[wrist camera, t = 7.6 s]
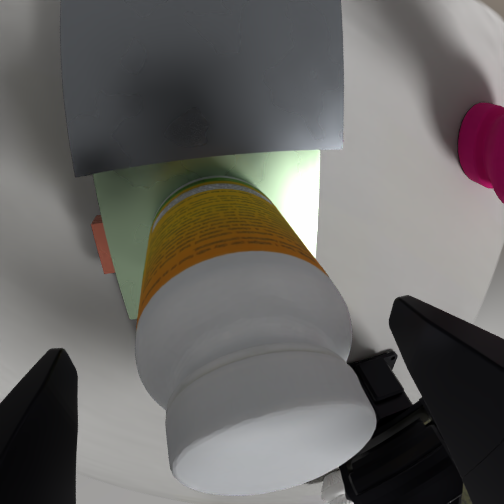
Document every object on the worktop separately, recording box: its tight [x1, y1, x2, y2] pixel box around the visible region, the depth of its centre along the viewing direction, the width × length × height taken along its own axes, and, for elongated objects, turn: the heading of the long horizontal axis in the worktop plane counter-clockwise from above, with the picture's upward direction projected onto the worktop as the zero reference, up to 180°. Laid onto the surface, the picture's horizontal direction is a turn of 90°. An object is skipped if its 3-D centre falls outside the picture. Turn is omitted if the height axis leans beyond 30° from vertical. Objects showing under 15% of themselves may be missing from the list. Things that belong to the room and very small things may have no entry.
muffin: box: [321, 471, 354, 504], centre depth 38 cm, size 6×6×7 cm
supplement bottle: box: [135, 176, 377, 496], centre depth 9 cm, size 5×5×10 cm
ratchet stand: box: [60, 0, 344, 320], centre depth 14 cm, size 22×10×6 cm, turn 2°
